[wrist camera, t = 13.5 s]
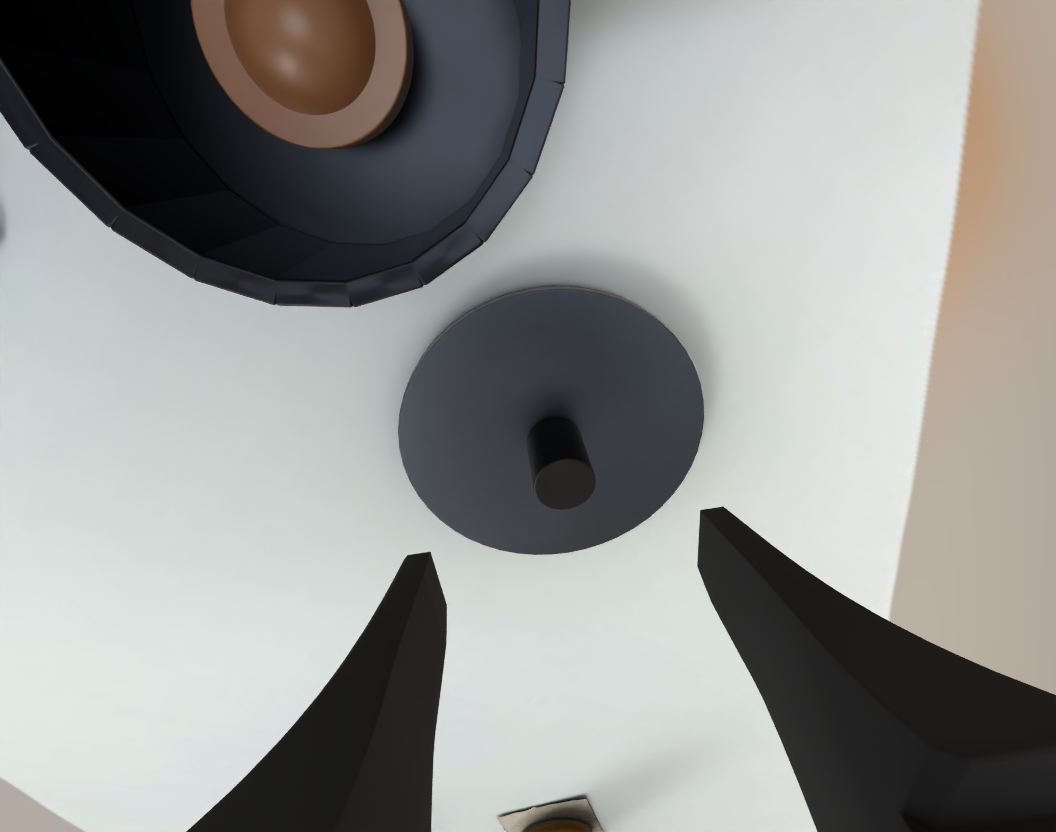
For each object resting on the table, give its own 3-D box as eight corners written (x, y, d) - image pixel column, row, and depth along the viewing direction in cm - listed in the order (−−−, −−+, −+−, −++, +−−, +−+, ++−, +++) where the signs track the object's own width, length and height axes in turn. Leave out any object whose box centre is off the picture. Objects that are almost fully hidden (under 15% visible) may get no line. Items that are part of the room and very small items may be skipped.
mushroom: (390, 177, 16) (361, 187, 12) (232, 98, 15) (141, 80, 11) (446, 8, 14) (433, -46, 10) (270, -101, 13) (175, -213, 9)
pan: (259, 301, 18) (171, 362, 13) (4, -159, 13) (-340, -381, 7) (577, 205, 18) (618, 229, 13) (468, -332, 12) (456, -716, 7)
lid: (459, 566, 26) (456, 637, 22) (350, 336, 19) (318, 381, 16) (706, 500, 25) (746, 563, 21) (676, 239, 19) (725, 262, 15)
